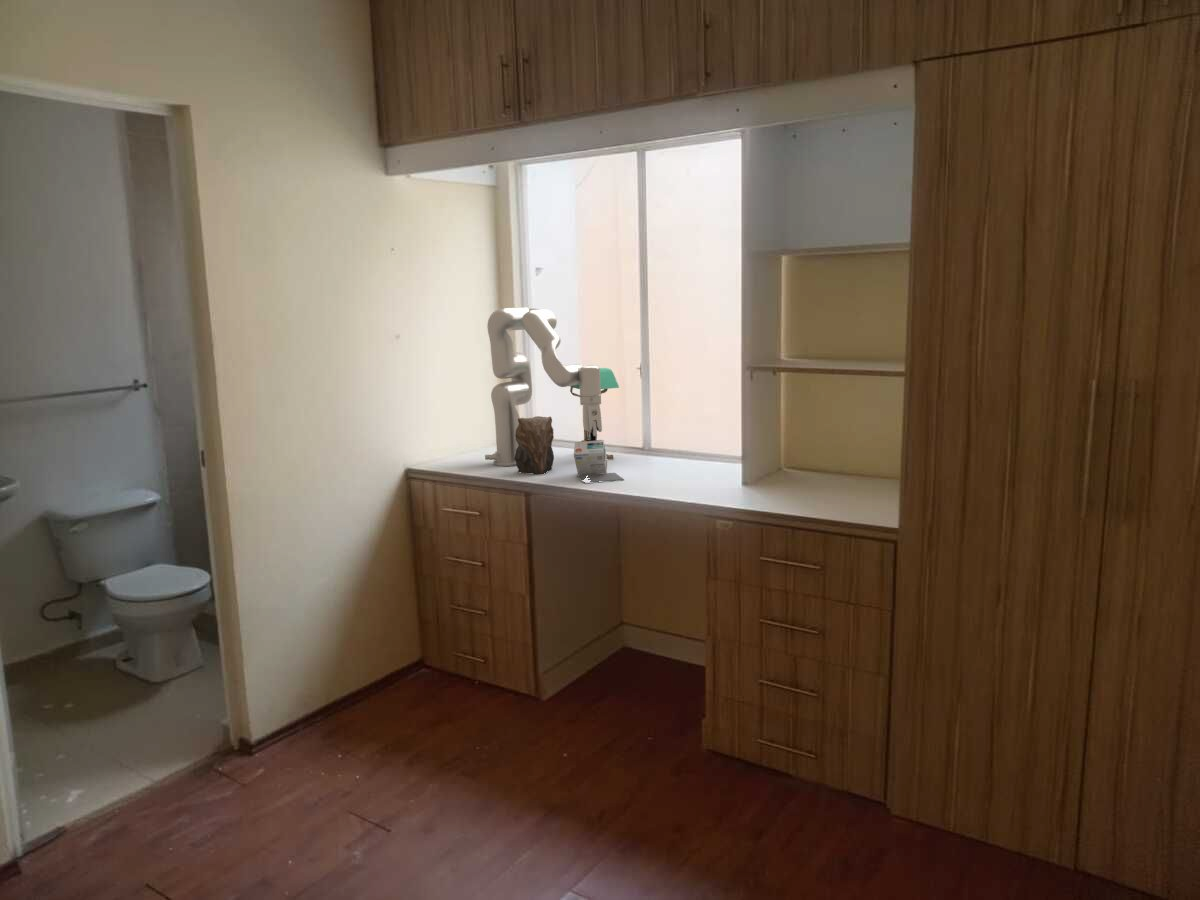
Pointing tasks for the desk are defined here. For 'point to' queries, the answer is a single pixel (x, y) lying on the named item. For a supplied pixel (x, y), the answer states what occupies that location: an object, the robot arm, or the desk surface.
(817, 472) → the desk surface
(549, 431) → the owl
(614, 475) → the mat
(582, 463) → the light bulb box
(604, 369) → the banker's lamp
